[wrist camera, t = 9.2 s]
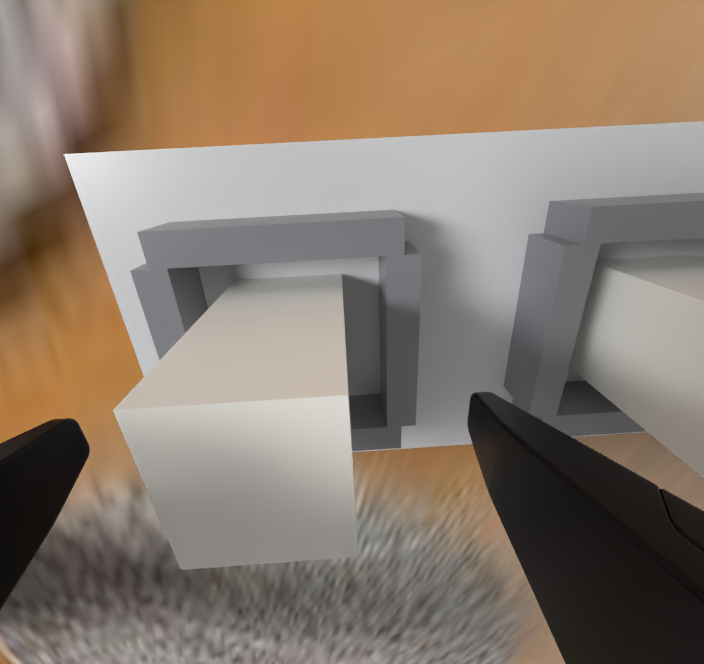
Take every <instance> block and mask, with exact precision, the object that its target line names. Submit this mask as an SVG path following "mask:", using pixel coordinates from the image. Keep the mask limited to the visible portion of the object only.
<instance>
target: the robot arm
mask: <svg viewBox="0 0 704 664" xmlns="http://www.w3.org/2000/svg"><path fill="white" fill-rule="evenodd" d="M467 425H468V431H469V434H470V437H471V440H472V443H473V446H474V450H475V453H476V456H477V459H478V462H479V465H480V468H481V471H482V474H483V477H484V480H485V483H486V486H487V489H488V492H489V494H490V497H491V499H492V501H493V504H494V506H495V508H496V510H497V513H498V515H499V517H500V519H501V522H502V524H503V526H504V528H505V530H506V533H507V535H508V537H509V539H510V541H511V544H512V546H513V548H514V550H515V553H516V555H517V557H518V559H519V561H520V564H521V566H522V568H523V570H524V572H525V575H526V577H527V579H528V581H529V584H530V586H531V588H532V590H533V592H534V595H535V597H536V599H537V601H538V603H539V606H540V608H541V610H542V612H543V615H544V617H545V619H546V621H547V623H548V626H549V628H550V630H551V632H552V634H553V637H554V639H555V641H556V643H557V646H558V648H559V650H560V652H561V654H562V657H563V659H564V661H565V663H566V664H704V511H702V510H700V509H698V508H697V507H695V506H693V505H691V504H689V503H688V502H686V501H684V500H682V499H680V498H679V497H677V496H675V495H673V494H672V493H670V492H668V491H666V490H665V489H660V490H659V487H658V486H657V485H655V484H654V483H652V482H650V481H648V480H647V479H645V478H643V477H641V476H639V475H638V474H636V473H634V472H632V471H631V470H629V469H627V468H625V467H623V466H622V465H620V464H618V463H616V462H615V461H613V460H611V459H609V458H607V457H606V456H604V455H602V454H600V453H599V452H597V451H595V450H593V449H591V448H590V447H588V446H586V445H584V444H583V443H581V442H579V441H577V440H575V439H574V438H572V437H570V436H568V435H567V434H565V433H563V432H561V431H559V430H558V429H556V428H554V427H552V426H551V425H549V424H547V423H545V422H543V421H542V420H540V419H538V418H536V417H535V416H533V415H531V414H529V413H527V412H526V411H524V410H522V409H520V408H519V407H517V406H515V405H513V404H511V403H510V402H508V401H506V400H504V399H503V398H501V397H499V396H497V395H495V394H494V393H492V392H475V393H473V394H472V395H471V397H470V404H469V412H468V420H467ZM89 451H90V448H89V444H88V442H87V440H86V438H85V436H84V434H83V432H82V430H81V428H80V426H79V424H78V422H77V421H76V420H74V419H71V418H67V419H54V420H50V421H48V422H46V423H44V424H41V425H39V426H37V427H35V428H33V429H31V430H29V431H26V432H24V433H22V434H20V435H18V436H16V437H14V438H11V439H9V440H7V441H5V442H3V443H1V444H0V610H1V609H2V607H3V605H4V604H5V602H6V601H7V599H8V597H9V596H10V594H11V593H12V591H13V589H14V588H15V586H16V584H17V583H18V581H19V580H20V578H21V576H22V575H23V573H24V572H25V570H26V568H27V567H28V565H29V564H30V562H31V560H32V559H33V557H34V556H35V554H36V552H37V551H38V549H39V547H40V546H41V544H42V543H43V541H44V539H45V538H46V536H47V535H48V533H49V531H50V530H51V528H52V526H53V524H54V523H55V521H56V519H57V517H58V515H59V513H60V512H61V510H62V508H63V506H64V504H65V502H66V500H67V498H68V496H69V494H70V492H71V490H72V488H73V486H74V484H75V482H76V480H77V478H78V476H79V474H80V472H81V470H82V468H83V466H84V464H85V462H86V460H87V458H88V456H89Z"/></svg>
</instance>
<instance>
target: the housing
mask: <svg viewBox="0 0 704 664" xmlns="http://www.w3.org/2000/svg"><path fill="white" fill-rule="evenodd" d="M64 156H65V159H66V161H67V164H68V167H69V170H70V173H71V175H72V178H73V181H74V184H75V186H76V189H77V192H78V195H79V197H80V200H81V203H82V206H83V209H84V211H85V214H86V217H87V220H88V222H89V225H90V228H91V231H92V234H93V236H94V239H95V242H96V245H97V247H98V250H99V253H100V256H101V259H102V261H103V264H104V267H105V270H106V272H107V275H108V278H109V281H110V284H111V286H112V289H113V292H114V295H115V297H116V300H117V303H118V306H119V309H120V311H121V314H122V317H123V320H124V322H125V325H126V328H127V331H128V333H129V336H130V339H131V342H132V345H133V347H134V350H135V353H136V356H137V358H138V361H139V364H140V367H141V370H142V372H143V375H144V377H145V376H146V374H147V373H148V372H149V371H150V370H151V369H152V368H153V367H154V366H155V365H156V364H157V363H158V362H159V361H160V360H161V359H162V357H163V356H164V355H165V354H166V353H167V352H168V351H169V350H170V349H171V348H172V347H173V346H174V345H175V344H176V343H177V342H178V340H179V339H180V338H181V337H182V336H183V335H184V334H185V333H186V332H187V331H188V330H189V329H190V328H191V327H192V326H193V324H194V323H195V322H196V321H197V320H198V319H199V318H200V317H201V316H202V315H203V314H204V313H205V312H206V311H207V310H208V309H209V307H210V306H211V305H212V304H213V303H214V302H215V301H216V300H217V299H218V298H219V297H220V296H221V295H222V294H223V293H224V292H225V290H226V289H227V288H228V287H229V286H230V285H231V284H232V283H233V282H234V281H235V280H243V279H260V278H278V277H295V276H312V275H329V274H342V288H343V304H344V320H345V336H346V352H347V368H348V385H349V402H350V419H351V437H352V452H362V451H376V450H391V449H406V448H421V447H436V446H450V445H465V444H473V443H472V440H471V437H470V434H469V431H468V425H467V420H468V412H469V404H470V397H471V395H472V394H473V393H475V392H492V393H494V394H495V395H497V396H499V397H501V398H503V399H504V400H506V401H508V402H510V403H511V404H513V405H515V406H517V407H519V408H520V409H522V410H524V411H526V412H527V413H529V414H531V415H533V416H535V417H536V418H538V419H540V420H542V421H543V422H545V423H547V424H549V425H551V426H552V427H554V428H556V429H558V430H559V431H561V432H563V433H565V434H567V435H568V436H570V437H584V436H598V435H613V434H628V433H643V432H648V433H649V434H650V435H652V436H653V437H654V438H655V439H656V440H658V441H659V442H660V443H661V444H662V445H664V446H665V447H666V448H667V449H668V450H670V451H671V452H672V453H673V454H674V455H676V456H677V457H678V458H679V459H680V460H682V461H683V462H684V463H685V464H686V465H688V466H689V467H690V468H691V469H692V470H694V471H695V472H696V473H697V474H698V475H700V476H701V477H702V478H703V479H704V121H700V122H681V123H661V124H642V125H622V126H603V127H583V128H564V129H544V130H525V131H506V132H486V133H467V134H447V135H428V136H408V137H389V138H369V139H350V140H330V141H311V142H291V143H272V144H252V145H233V146H213V147H194V148H175V149H155V150H136V151H116V152H97V153H77V154H64Z"/></svg>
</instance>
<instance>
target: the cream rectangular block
mask: <svg viewBox="0 0 704 664" xmlns="http://www.w3.org/2000/svg"><path fill="white" fill-rule="evenodd" d="M113 412H114V414H115V416H116V419H117V421H118V423H119V426H120V428H121V431H122V433H123V435H124V438H125V440H126V442H127V445H128V447H129V449H130V452H131V454H132V456H133V459H134V461H135V463H136V466H137V468H138V470H139V473H140V475H141V477H142V480H143V482H144V484H145V487H146V489H147V491H148V494H149V496H150V499H151V501H152V503H153V506H154V508H155V510H156V513H157V515H158V517H159V520H160V522H161V524H162V527H163V529H164V531H165V534H166V536H167V538H168V541H169V543H170V545H171V548H172V550H173V552H174V555H175V557H176V559H177V562H178V564H179V566H180V569H181V570H186V569H200V568H214V567H228V566H241V565H255V564H269V563H282V562H296V561H310V560H324V559H337V558H351V557H358V540H357V523H356V505H355V488H354V471H353V454H352V437H351V419H350V402H349V385H348V368H347V352H346V336H345V320H344V304H343V288H342V274H329V275H312V276H295V277H278V278H260V279H243V280H235V281H234V282H233V283H232V284H231V285H230V286H229V287H228V288H227V289H226V290H225V292H224V293H223V294H222V295H221V296H220V297H219V298H218V299H217V300H216V301H215V302H214V303H213V304H212V305H211V306H210V307H209V309H208V310H207V311H206V312H205V313H204V314H203V315H202V316H201V317H200V318H199V319H198V320H197V321H196V322H195V323H194V324H193V326H192V327H191V328H190V329H189V330H188V331H187V332H186V333H185V334H184V335H183V336H182V337H181V338H180V339H179V340H178V342H177V343H176V344H175V345H174V346H173V347H172V348H171V349H170V350H169V351H168V352H167V353H166V354H165V355H164V356H163V357H162V359H161V360H160V361H159V362H158V363H157V364H156V365H155V366H154V367H153V368H152V369H151V370H150V371H149V372H148V373H147V374H146V376H145V377H144V378H143V379H142V380H141V381H140V382H139V383H138V384H137V385H136V386H135V387H134V388H133V389H132V390H131V391H130V393H129V394H128V395H127V396H126V397H125V398H124V399H123V400H122V401H121V402H120V403H119V404H118V405H117V406H116V407H115V409H114V410H113Z"/></svg>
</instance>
